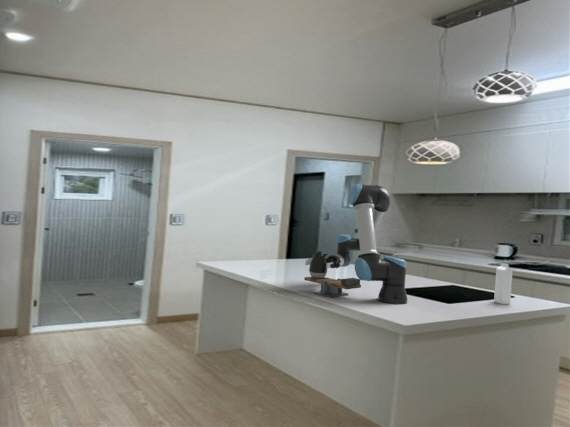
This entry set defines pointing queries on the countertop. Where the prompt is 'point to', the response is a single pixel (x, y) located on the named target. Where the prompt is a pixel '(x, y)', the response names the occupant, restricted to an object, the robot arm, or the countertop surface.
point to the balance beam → (338, 282)
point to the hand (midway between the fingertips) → (316, 264)
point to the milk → (503, 284)
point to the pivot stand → (330, 290)
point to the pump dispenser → (318, 265)
